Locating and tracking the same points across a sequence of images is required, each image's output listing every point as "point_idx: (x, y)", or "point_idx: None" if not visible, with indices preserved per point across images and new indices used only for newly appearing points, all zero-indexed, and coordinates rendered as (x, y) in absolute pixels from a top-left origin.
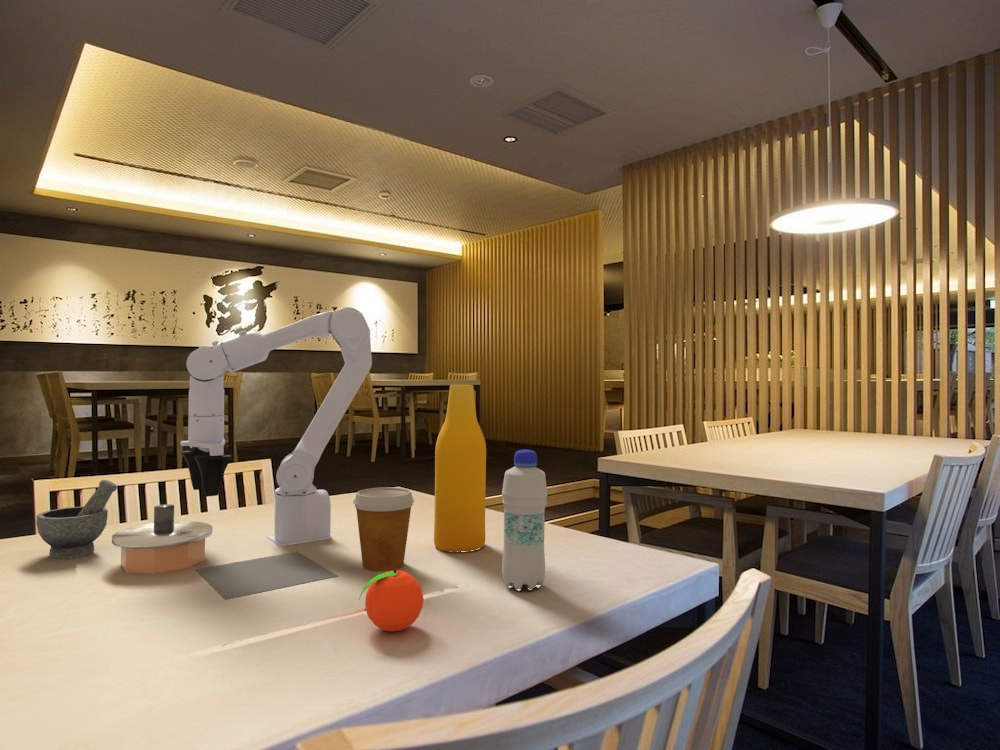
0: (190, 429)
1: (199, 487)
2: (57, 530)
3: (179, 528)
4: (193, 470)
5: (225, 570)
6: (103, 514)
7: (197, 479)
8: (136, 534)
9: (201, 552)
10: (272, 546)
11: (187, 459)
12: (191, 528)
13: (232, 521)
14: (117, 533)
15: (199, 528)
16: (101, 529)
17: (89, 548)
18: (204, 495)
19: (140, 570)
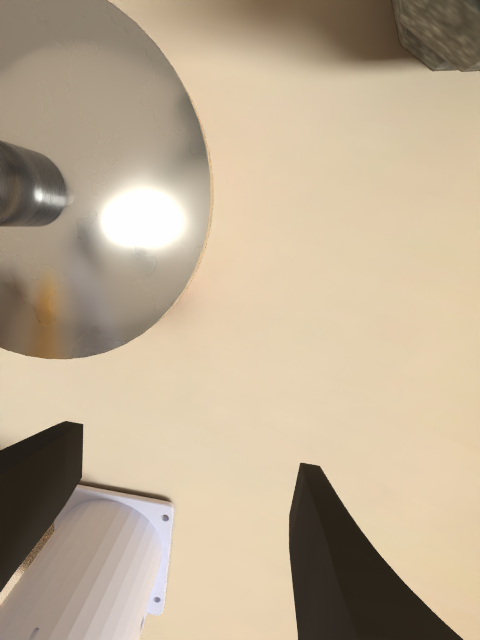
0: None
1: (297, 494)
2: None
3: (47, 253)
4: (322, 562)
5: None
6: (459, 12)
7: (304, 523)
8: (38, 81)
9: None
10: (97, 476)
11: (356, 633)
12: (22, 286)
13: (462, 542)
14: (106, 16)
15: (4, 306)
16: (431, 46)
17: (411, 35)
18: (74, 424)
19: None
